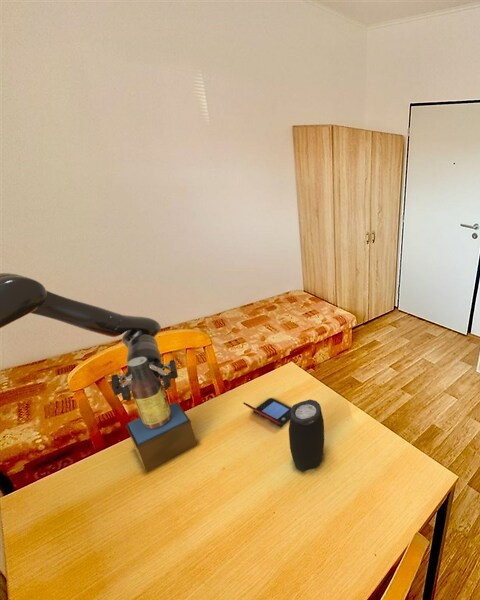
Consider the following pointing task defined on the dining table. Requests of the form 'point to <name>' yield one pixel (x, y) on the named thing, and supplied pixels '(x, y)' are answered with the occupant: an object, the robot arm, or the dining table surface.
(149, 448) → the blue topped brown block
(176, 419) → the mat
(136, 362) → the sauce bottle
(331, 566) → the dining table surface
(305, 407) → the portable speaker
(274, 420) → the handheld console
